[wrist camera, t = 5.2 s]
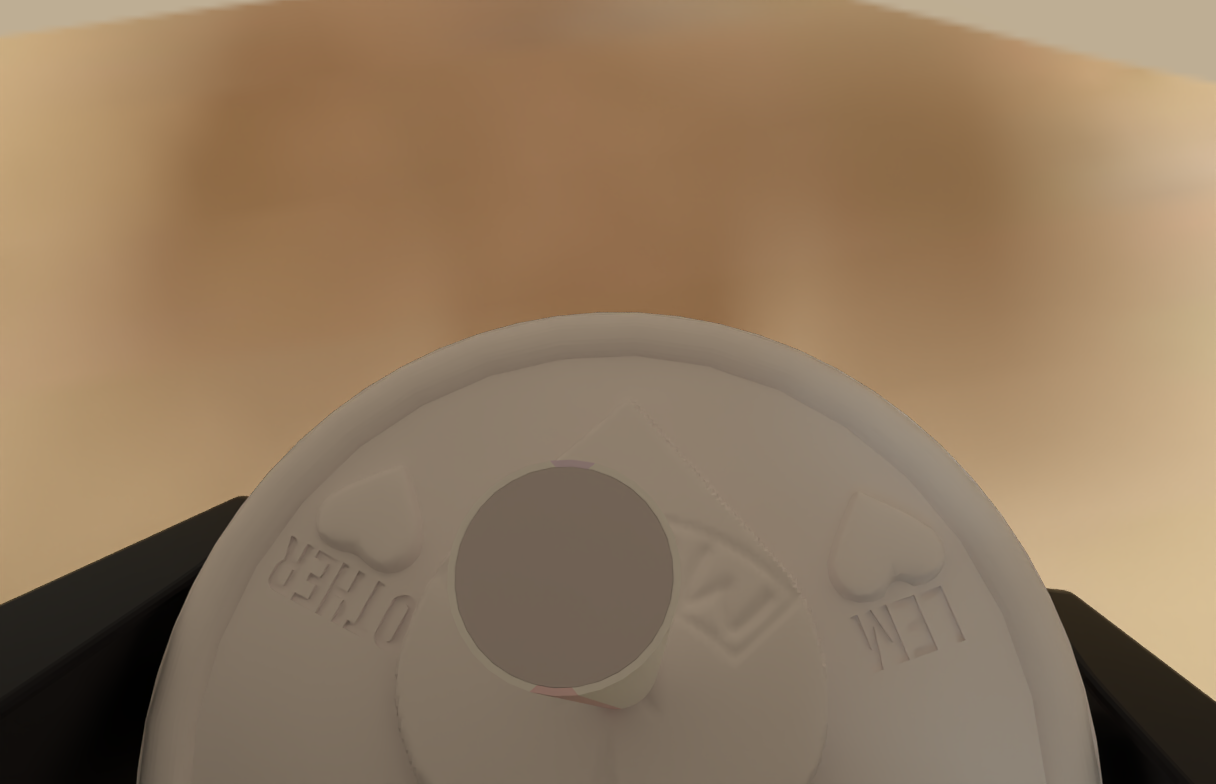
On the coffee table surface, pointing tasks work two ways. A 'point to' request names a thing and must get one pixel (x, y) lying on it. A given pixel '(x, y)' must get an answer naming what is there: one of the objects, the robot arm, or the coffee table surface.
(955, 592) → the smoothie
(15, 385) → the coffee table surface
